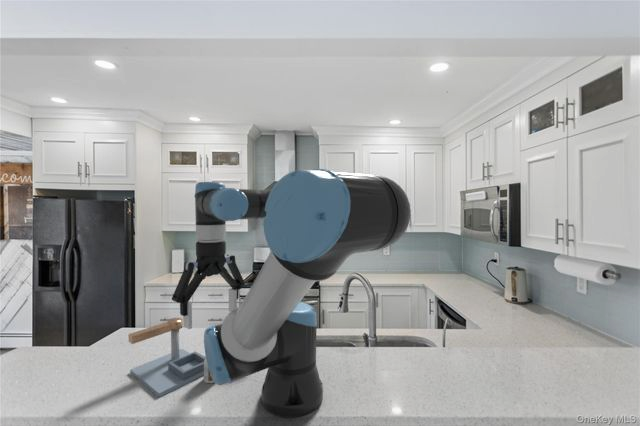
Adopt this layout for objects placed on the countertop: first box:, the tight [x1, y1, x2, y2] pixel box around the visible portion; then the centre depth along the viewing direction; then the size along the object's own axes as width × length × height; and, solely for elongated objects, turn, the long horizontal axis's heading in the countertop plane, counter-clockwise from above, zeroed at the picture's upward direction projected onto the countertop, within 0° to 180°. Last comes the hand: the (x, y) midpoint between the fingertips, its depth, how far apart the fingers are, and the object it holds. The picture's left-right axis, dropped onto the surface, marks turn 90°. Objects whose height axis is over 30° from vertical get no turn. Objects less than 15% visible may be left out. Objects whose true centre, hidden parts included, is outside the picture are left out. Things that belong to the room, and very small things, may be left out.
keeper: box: [128, 317, 183, 345], centre depth 86 cm, size 14×4×2 cm, turn 143°
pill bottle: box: [203, 354, 216, 384], centre depth 82 cm, size 4×4×8 cm
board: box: [130, 329, 206, 398], centre depth 85 cm, size 17×15×10 cm
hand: (211, 319), depth 81 cm, fingers open, 13 cm apart
